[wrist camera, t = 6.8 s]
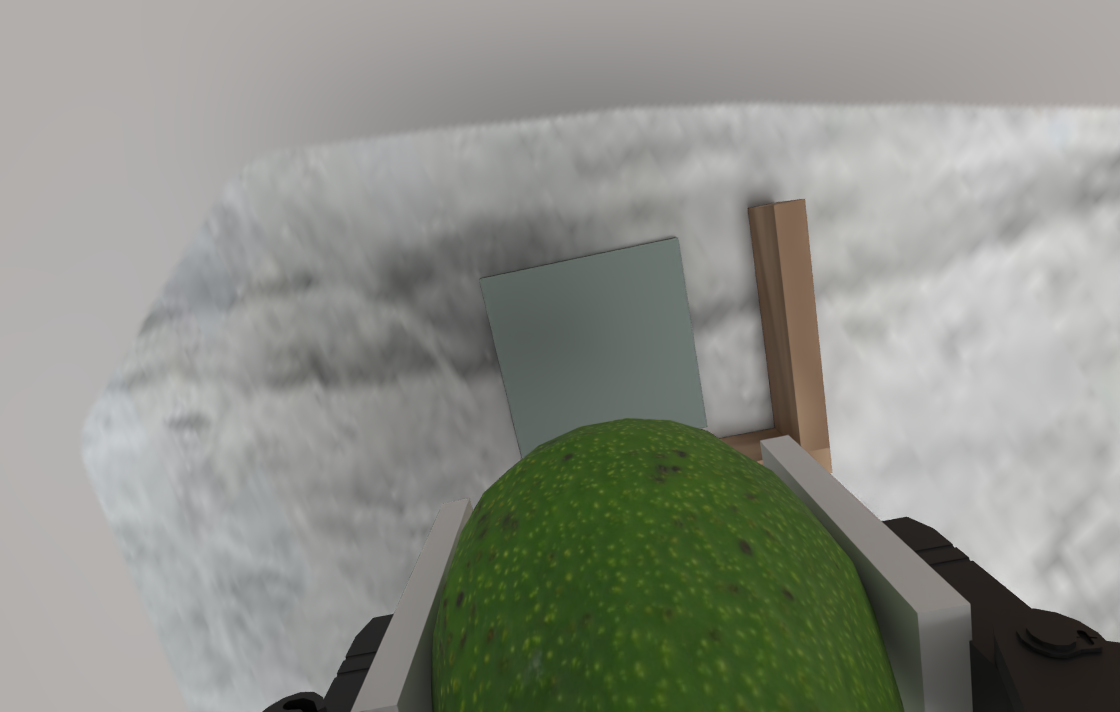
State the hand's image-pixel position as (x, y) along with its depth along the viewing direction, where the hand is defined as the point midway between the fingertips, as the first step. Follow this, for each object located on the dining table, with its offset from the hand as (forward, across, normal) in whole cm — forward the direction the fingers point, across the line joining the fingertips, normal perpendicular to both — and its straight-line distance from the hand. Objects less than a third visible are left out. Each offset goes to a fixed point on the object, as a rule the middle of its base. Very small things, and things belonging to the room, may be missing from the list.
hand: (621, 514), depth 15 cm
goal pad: (+20, 0, 0) cm, 20 cm away
